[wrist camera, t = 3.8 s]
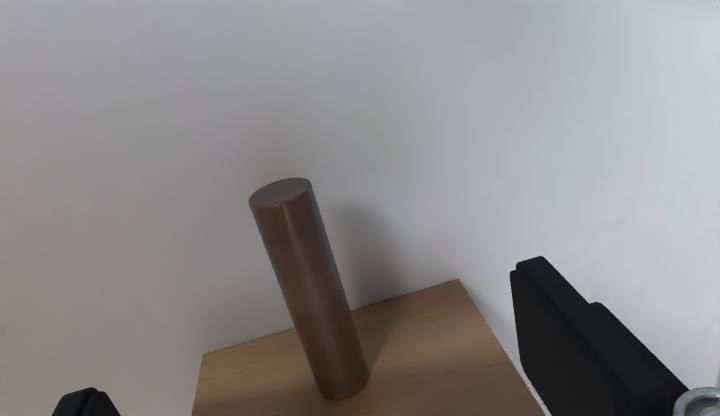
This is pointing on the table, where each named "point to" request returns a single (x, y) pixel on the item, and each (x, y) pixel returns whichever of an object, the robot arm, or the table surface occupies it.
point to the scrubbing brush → (356, 340)
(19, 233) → the table surface
